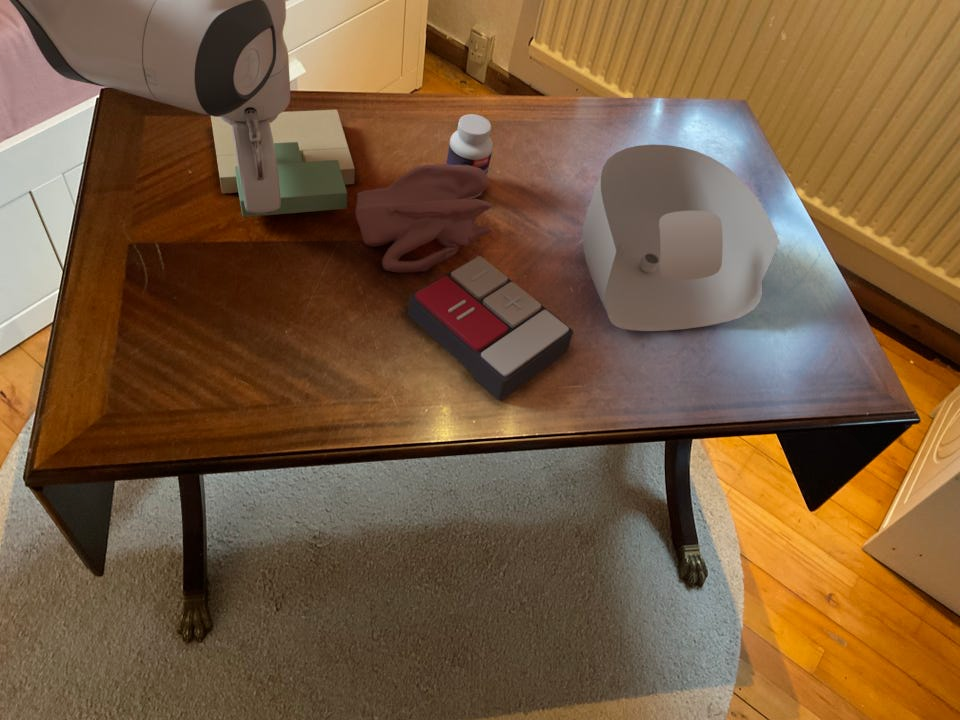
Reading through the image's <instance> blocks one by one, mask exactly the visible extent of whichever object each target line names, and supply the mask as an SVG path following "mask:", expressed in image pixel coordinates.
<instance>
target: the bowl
mask: <svg viewBox="0 0 960 720" xmlns="http://www.w3.org/2000/svg"><path fill="white" fill-rule="evenodd" d="M779 244H780V239H779V238H778V235H777V231H776V229H775V227H774V225H773V223H772V221H771V219H770V217H769V215H768V213H767V211H766V210H765V207H764V206H763V205H762V203H761V202H760V200H759V199H758V197H757V195H756V194H755V193H754V192H753V191H752V190H751V188H750V187H749V186H748V185H747V184H746V183H745V182H744V181H743V180H742V179H741V178H740V177H739V175H737V174H736V173H735V172H734V171H732V170H731V169H730V168H729V167H727V166H726V165H725V164H723V163H721V162H720V161H718V159H717V160H716V159H715V158H714V157H712V156H710V155H707V154H705V153H703V152H699V151H697V150H693V149H691V148H686V147H682V146H676V145H669V144H642V145H636V146H631V147H627V148H624V149H622V150H619V151H617V152H615V153H613V154H612V155H611V156H610V157H609V158H607V160H606V162H605V163H604V165H603V166H602V168H601V172H600V174H599V177H598V179H597V183H596V185H595V188H594V190H593V194H592V196H591V200H590V202H589V205H588V208H587V211H586V215H585V219H584V223H583V228H582V248H583V253H584V259H585V263H586V265H587V269H588V272H589V274H590V278H591V280H592V282H593V285H594V288H595V290H596V292H597V295H598V297H599V299H600V301H601V303H602V306H603V308H604V309H605V313H606V315H607V317H608V319H609V321H610V322H611V324H612V325H614V326H615V327H617V328H620V329H623V330H626V331H627V330H628V331H638V332H657V331H658V332H662V331H663V332H664V331H676V330H687V329H688V330H689V329H695V328H702V327H709V326H714V325H719V324H723V323H726V322H730V321H734V320H737V319H740V318H742V317H744V316H746V315H748V314H749V313H751V312H752V311H753V310H755V309H756V307H757V306H758V305H759V303H760V301H761V299H762V294H763V287H762V286H763V284H762V283H763V280H764V278H765V275H766V273H767V270H768V269H769V266H770V264H771V262H772V259H773V257H774V255H775V253H776V251H777V249H778V246H779Z"/></svg>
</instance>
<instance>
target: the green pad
mask: <svg viewBox="0 0 960 720" xmlns="http://www.w3.org/2000/svg"><path fill="white" fill-rule="evenodd" d="M274 146H275V151H276V157H277V165H278V175H279V185H280V196H281V207H280V209H279V210H278V211H276V212H268V213H263V214H255V213H248V212H247V211H246V209H245V206H244V200H243V194H242V188H241V182H240V176H239V170H238V166H235V173H236V180H237V187H238V192H237V193H238V197H239V204H240V210H241V214H242V215H241V216H242V218H249V217H250V218H251V217H260V216H261V217H262V216H275V215H285V214H288V215H289V214H297V213H310V212H311V213H312V212H323V211H334V210H336V211H337V210H345V209H346V210H347V208H348V191H347V188H346V185H345V184H344V180H343V177H342V173H341V170H340V166H339V163H338V160H327V161H311V162H302V158H301V154H300V150H299V145H298V142H287V143H274Z"/></svg>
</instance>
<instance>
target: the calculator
mask: <svg viewBox="0 0 960 720" xmlns="http://www.w3.org/2000/svg"><path fill="white" fill-rule="evenodd" d="M407 315H408V317H409V318H410V319H411V320H412V321H413V322H414V323H415V324H417V325H418V326H419V327H420V328H421V329H422V330H423V331H425V333H427V335H429V336H430V337H431V338H432V339H433V340H434V341H436V342H437V343H438V344H439V345H440V346H441V347H442V348H443V349H444V350H446V351H447V352H448V353H449V354H450V355H451V356H453V358H455V359H456V361H458V362H459V363H460V364H461V365H463V367H465V368H466V369H467V370H468V371H469V372H470V374H471V375H472V376H473V378H474V380H475V381H476V382H477V383H478V384H479V385H481V387H483V388H484V389H485V390H486V391H487V392H488V393H489V394H490V395H492V396H493V397H494V398H495V400H498V402H499V401H500V402H501V401H504V400H506V399H507V398H508V397H510V396H511V395H513V394H514V393H515V392H517V390H520V388H521V387H523V386H524V385H526V384H527V383H529V382H530V381H531V380H532V379H534V378H535V377H537V376H538V375H539V374H540V373H542V372H543V371H544V370H546V369H547V368H548V367H550V366H551V365H552V364H554V363H555V362H557V361H558V360H560V359H561V358H562V357H563V356H565V355H566V354H567V353H568V351H569V347H570V344H571V342H572V339H573V335H574V329H572V328H571V327H570V326H569V325H568V324H567V323H565V322H564V321H562V320H561V319H560V318H559V317H557V316H556V315H555V314H554V313H552V312H551V311H550V310H549V309H548V308H546V307H545V306H544V305H543V304H541V302H539V301H537V299H535V298H533V296H531V295H530V294H529V293H527V292H526V291H525V290H524V289H523V288H521V287H520V286H519V285H518V284H516V283H515V282H514V281H513V280H512V279H510V278H509V277H508V276H506V275H505V274H504V273H502V272H501V271H500V270H499V269H498V268H496V267H495V266H494V265H492V264H491V263H490V262H489V261H487V260H486V259H485V258H484V257H483V256H481V255H477V256H475V257H473V258H472V259H470V260H468V261H467V262H464V263H463V264H462V265H460V266H458V267H457V268H455V269H453V270H452V271H450V272H448V273H446V274H445V275H443V276H441V277H440V278H438V279H436V280H434V281H433V282H431V283H429V284H428V285H426V286H424V287H423V288H421V289H419V290H418V291H416V292H414V293H412V294H411V295H410V296H409V298H408V309H407Z"/></svg>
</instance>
